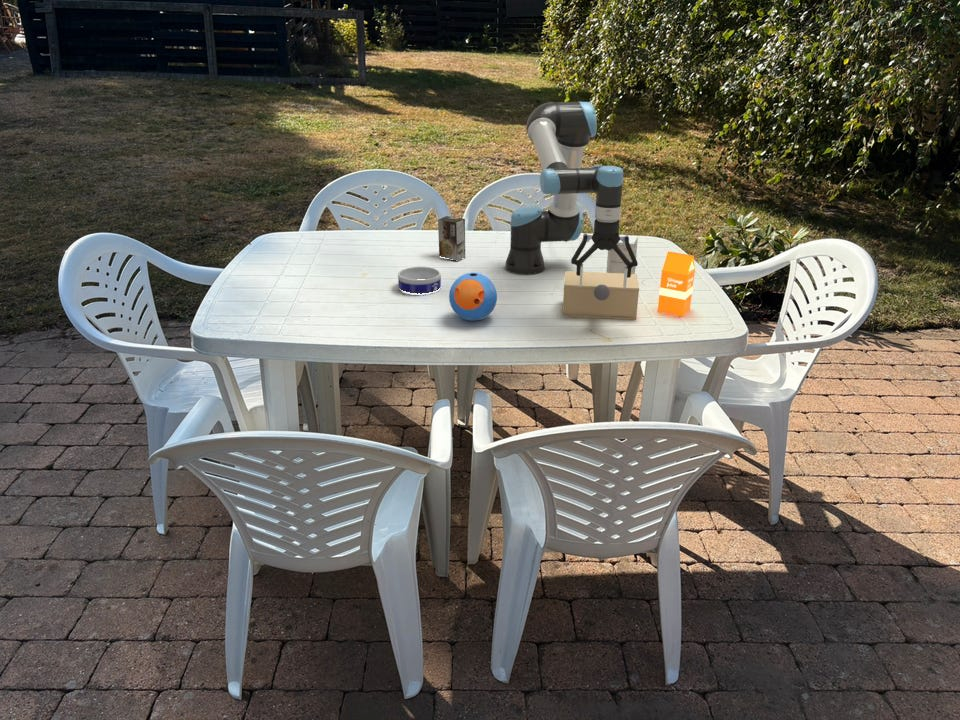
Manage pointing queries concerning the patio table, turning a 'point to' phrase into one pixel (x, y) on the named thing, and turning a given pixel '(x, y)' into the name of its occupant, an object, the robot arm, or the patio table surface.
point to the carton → (600, 304)
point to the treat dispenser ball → (473, 296)
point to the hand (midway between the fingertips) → (602, 286)
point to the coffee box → (451, 237)
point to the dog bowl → (412, 285)
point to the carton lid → (601, 282)
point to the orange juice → (676, 284)
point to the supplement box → (616, 262)
